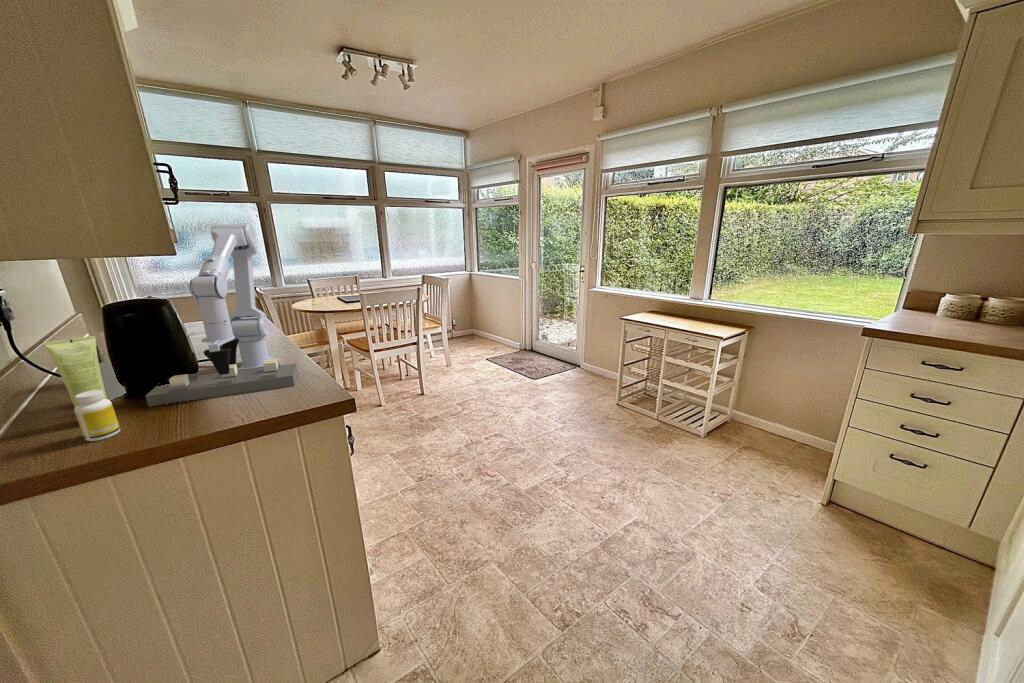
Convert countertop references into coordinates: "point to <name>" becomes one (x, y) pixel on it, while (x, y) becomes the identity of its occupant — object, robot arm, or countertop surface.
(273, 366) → the switch
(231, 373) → the switch mid
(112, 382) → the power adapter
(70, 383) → the tube
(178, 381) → the switch
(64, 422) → the countertop surface
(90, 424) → the supplement bottle
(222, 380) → the power strip
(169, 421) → the countertop surface
